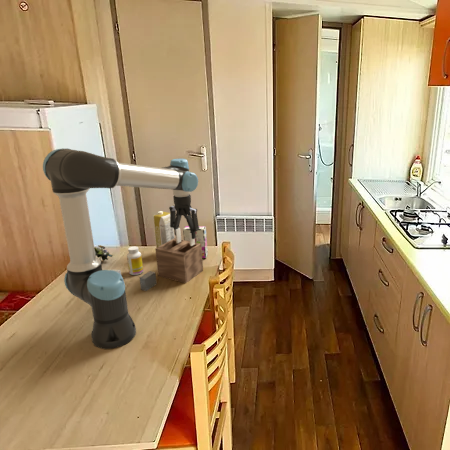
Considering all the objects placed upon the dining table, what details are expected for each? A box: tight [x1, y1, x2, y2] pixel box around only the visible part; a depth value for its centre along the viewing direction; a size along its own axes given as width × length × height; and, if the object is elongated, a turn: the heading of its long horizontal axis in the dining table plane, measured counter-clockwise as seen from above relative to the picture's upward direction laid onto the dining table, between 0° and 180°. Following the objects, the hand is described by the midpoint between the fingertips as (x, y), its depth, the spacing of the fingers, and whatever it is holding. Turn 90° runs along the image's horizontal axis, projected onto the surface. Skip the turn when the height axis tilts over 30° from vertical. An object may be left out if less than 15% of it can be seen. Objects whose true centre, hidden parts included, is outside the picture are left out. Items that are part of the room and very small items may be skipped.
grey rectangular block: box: [139, 270, 158, 292], centre depth 164 cm, size 7×3×6 cm, turn 149°
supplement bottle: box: [126, 246, 144, 276], centre depth 176 cm, size 7×7×13 cm
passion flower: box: [94, 245, 113, 261], centre depth 188 cm, size 11×11×12 cm
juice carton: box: [152, 210, 175, 249], centre depth 193 cm, size 9×8×24 cm
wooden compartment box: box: [154, 237, 204, 284], centre depth 173 cm, size 14×16×14 cm
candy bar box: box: [182, 225, 209, 259], centre depth 190 cm, size 11×5×16 cm, turn 80°
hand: (185, 243), depth 168 cm, fingers open, 7 cm apart
